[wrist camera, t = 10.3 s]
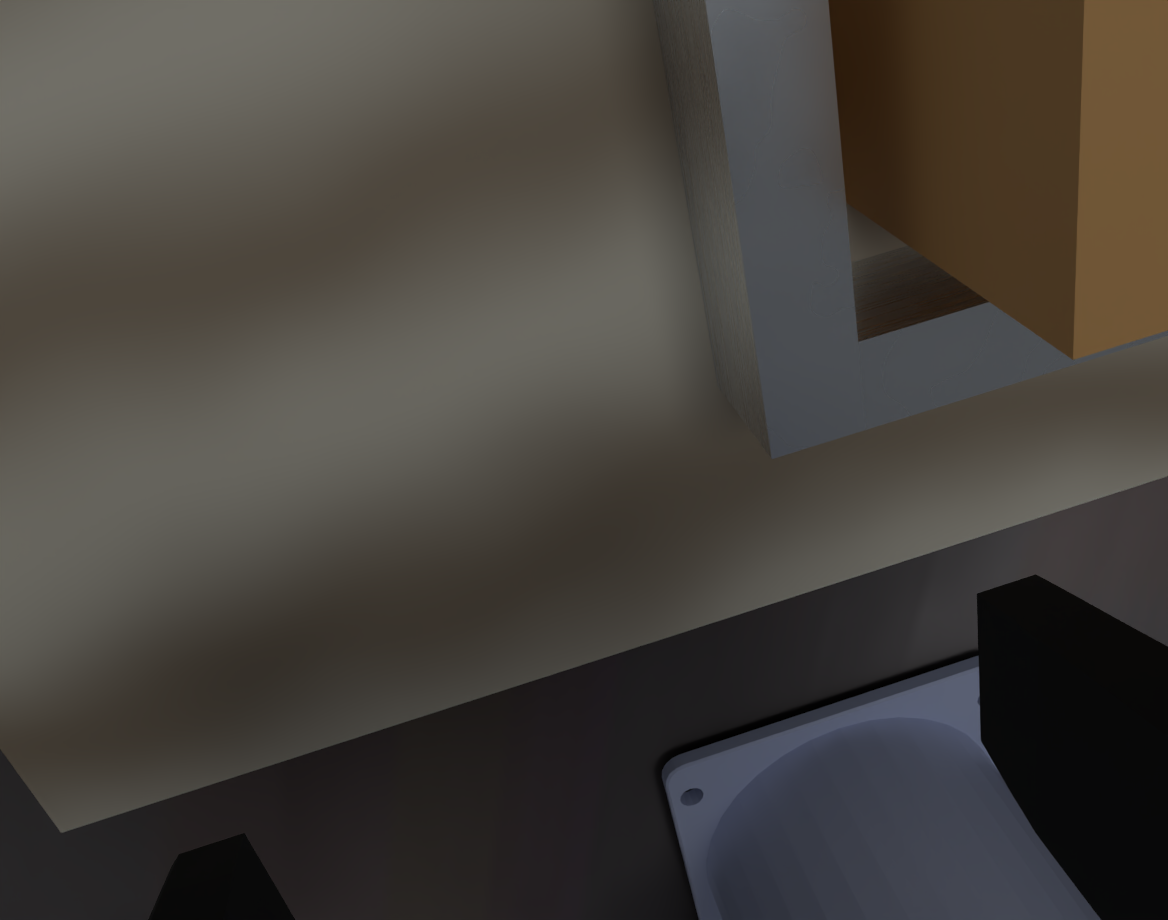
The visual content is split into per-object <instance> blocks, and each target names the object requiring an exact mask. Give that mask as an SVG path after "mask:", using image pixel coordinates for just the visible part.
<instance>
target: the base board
mask: <svg viewBox="0 0 1168 920" xmlns="http://www.w3.org/2000/svg"><path fill="white" fill-rule="evenodd" d="M828 3H829V1H828ZM829 15H830V13H829ZM830 26H831V24H830ZM831 37H832V35H831ZM832 49H833V47H832ZM833 60H834V58H833ZM834 72H835V70H834ZM835 83H836V81H835ZM836 94H837V92H836ZM837 106H838V104H837ZM838 117H839V115H838ZM839 129H840V127H839ZM840 140H841V138H840ZM841 152H842V149H841ZM842 163H843V161H842ZM843 174H844V172H843ZM844 186H845V184H844ZM845 197H846V195H845ZM846 209H847V220H848V231H849V243H850V254H851V262H855V261H858V260H861V259H865V258H868V257H871V256H875V255H878V254H881V253H885V252H888V251H891V250H895V249H898V248H901V247H905V246H908V245H907V244H905V243H904V242H902V241H901V240H899V239H898V238H896V237H895V236H894V235H892V234H891V233H889V232H888V231H886V230H885V229H883V228H882V227H881V226H879V225H878V224H876V223H875V222H873V221H872V220H871V219H869V218H868V217H866V216H865V215H863V214H862V213H860V212H859V211H858V210H856V209H855V208H853V207H852V206H850V205H849V204H847V203H846ZM1167 476H1168V336H1166V337H1162V338H1159V339H1156V340H1153V341H1150V342H1146V343H1143V344H1140V345H1137V346H1133V347H1130V348H1127V349H1124V350H1121V351H1117V352H1114V353H1111V354H1108V355H1105V356H1101V357H1098V358H1095V359H1092V360H1089V361H1085V362H1082V363H1079V364H1076V365H1073V366H1069V367H1066V368H1063V369H1060V370H1057V371H1053V372H1050V373H1047V374H1044V375H1040V376H1037V377H1034V378H1031V379H1028V380H1024V381H1021V382H1018V383H1015V384H1012V385H1008V386H1005V387H1002V388H999V389H996V390H992V391H989V392H986V393H983V394H980V395H976V396H973V397H970V398H967V399H963V400H960V401H957V402H954V403H951V404H947V405H944V406H941V407H938V408H935V409H931V410H928V411H925V412H922V413H919V414H915V415H912V416H909V417H906V418H903V419H899V420H896V421H893V422H890V423H887V424H883V425H880V426H877V427H874V428H870V429H867V430H864V431H861V432H858V433H854V434H851V435H848V436H845V437H842V438H838V439H835V440H832V441H829V442H826V443H822V444H819V445H816V446H813V447H810V448H806V449H803V450H800V451H797V452H793V453H790V454H787V455H784V456H781V457H777V458H774V459H771V458H770V456H769V455H768V454H767V452H766V451H765V450H764V448H763V447H762V445H761V444H760V443H759V441H758V440H757V439H756V437H755V436H754V435H753V433H752V432H751V431H750V429H749V428H748V427H747V425H746V424H745V423H744V421H743V420H742V418H741V417H740V416H739V414H738V413H737V412H736V410H735V409H734V408H733V406H732V405H731V404H730V402H729V401H728V400H727V398H726V397H725V396H724V394H723V393H722V391H721V390H720V389H719V387H718V385H717V379H716V373H715V367H714V361H713V355H712V349H711V344H710V338H709V332H708V326H707V320H706V314H705V308H704V302H703V296H702V290H701V285H700V279H699V273H698V267H697V261H696V255H695V249H694V243H693V237H692V231H691V226H690V220H689V214H688V208H687V202H686V196H685V190H684V184H683V178H682V173H681V167H680V161H679V155H678V149H677V143H676V137H675V131H674V125H673V119H672V114H671V108H670V102H669V96H668V90H667V84H666V78H665V72H664V66H663V60H662V55H661V49H660V43H659V37H658V31H657V25H656V19H655V13H654V7H653V1H652V0H0V749H1V751H2V752H3V753H4V755H5V756H6V758H7V759H8V760H9V762H10V763H11V764H12V766H13V767H14V769H15V770H16V771H17V773H18V774H19V775H20V777H21V778H22V780H23V781H24V782H25V784H26V785H27V786H28V788H29V789H30V791H31V792H32V793H33V795H34V796H35V797H36V799H37V800H38V802H39V803H40V804H41V806H42V807H43V808H44V810H45V811H46V813H47V814H48V815H49V817H50V818H51V819H52V821H53V822H54V824H55V825H56V826H57V828H58V829H59V831H60V832H61V833H62V832H66V831H69V830H72V829H75V828H78V827H81V826H84V825H87V824H90V823H93V822H97V821H100V820H103V819H106V818H109V817H112V816H115V815H118V814H121V813H124V812H128V811H131V810H134V809H137V808H140V807H143V806H146V805H149V804H152V803H155V802H159V801H162V800H165V799H168V798H171V797H174V796H177V795H180V794H183V793H186V792H190V791H193V790H196V789H199V788H202V787H205V786H208V785H211V784H214V783H217V782H221V781H224V780H227V779H230V778H233V777H236V776H239V775H242V774H245V773H249V772H252V771H255V770H258V769H261V768H264V767H267V766H270V765H273V764H276V763H280V762H283V761H286V760H289V759H292V758H295V757H298V756H301V755H304V754H307V753H311V752H314V751H317V750H320V749H323V748H326V747H329V746H332V745H335V744H338V743H342V742H345V741H348V740H351V739H354V738H357V737H360V736H363V735H366V734H369V733H373V732H376V731H379V730H382V729H385V728H388V727H391V726H394V725H397V724H400V723H404V722H407V721H410V720H413V719H416V718H419V717H422V716H425V715H428V714H431V713H435V712H438V711H441V710H444V709H447V708H450V707H453V706H456V705H459V704H463V703H466V702H469V701H472V700H475V699H478V698H481V697H484V696H487V695H490V694H494V693H497V692H500V691H503V690H506V689H509V688H512V687H515V686H518V685H521V684H525V683H528V682H531V681H534V680H537V679H540V678H543V677H546V676H549V675H552V674H556V673H559V672H562V671H565V670H568V669H571V668H574V667H577V666H580V665H583V664H587V663H590V662H593V661H596V660H599V659H602V658H605V657H608V656H611V655H614V654H618V653H621V652H624V651H627V650H630V649H633V648H636V647H639V646H642V645H645V644H649V643H652V642H655V641H658V640H661V639H664V638H667V637H670V636H673V635H677V634H680V633H683V632H686V631H689V630H692V629H695V628H698V627H701V626H704V625H708V624H711V623H714V622H717V621H720V620H723V619H726V618H729V617H732V616H735V615H739V614H742V613H745V612H748V611H751V610H754V609H757V608H760V607H763V606H766V605H770V604H773V603H776V602H779V601H782V600H785V599H788V598H791V597H794V596H797V595H801V594H804V593H807V592H810V591H813V590H816V589H819V588H822V587H825V586H828V585H832V584H835V583H838V582H841V581H844V580H847V579H850V578H853V577H856V576H859V575H863V574H866V573H869V572H872V571H875V570H878V569H881V568H884V567H887V566H891V565H894V564H897V563H900V562H903V561H906V560H909V559H912V558H915V557H918V556H922V555H925V554H928V553H931V552H934V551H937V550H940V549H943V548H946V547H949V546H953V545H956V544H959V543H962V542H965V541H968V540H971V539H974V538H977V537H980V536H984V535H987V534H990V533H993V532H996V531H999V530H1002V529H1005V528H1008V527H1011V526H1015V525H1018V524H1021V523H1024V522H1027V521H1030V520H1033V519H1036V518H1039V517H1042V516H1046V515H1049V514H1052V513H1055V512H1058V511H1061V510H1064V509H1067V508H1070V507H1074V506H1077V505H1080V504H1083V503H1086V502H1089V501H1092V500H1095V499H1098V498H1101V497H1105V496H1108V495H1111V494H1114V493H1117V492H1120V491H1123V490H1126V489H1129V488H1132V487H1136V486H1139V485H1142V484H1145V483H1148V482H1151V481H1154V480H1157V479H1160V478H1163V477H1167Z"/></svg>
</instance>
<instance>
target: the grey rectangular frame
mask: <svg viewBox="0 0 1168 920" xmlns="http://www.w3.org/2000/svg"><path fill="white" fill-rule="evenodd" d="M652 1H653V7H654V13H655V19H656V25H657V31H658V37H659V43H660V49H661V55H662V60H663V66H664V72H665V78H666V84H667V90H668V96H669V102H670V108H671V114H672V119H673V125H674V131H675V137H676V143H677V149H678V155H679V161H680V167H681V173H682V178H683V184H684V190H685V196H686V202H687V208H688V214H689V220H690V226H691V231H692V237H693V243H694V249H695V255H696V261H697V267H698V273H699V279H700V285H701V290H702V296H703V302H704V308H705V314H706V320H707V326H708V332H709V338H710V344H711V349H712V355H713V361H714V367H715V373H716V379H717V385H718V387H719V389H720V390H721V391H722V393H723V394H724V396H725V397H726V398H727V400H728V401H729V402H730V404H731V405H732V406H733V408H734V409H735V410H736V412H737V413H738V414H739V416H740V417H741V418H742V420H743V421H744V423H745V424H746V425H747V427H748V428H749V429H750V431H751V432H752V433H753V435H754V436H755V437H756V439H757V440H758V441H759V443H760V444H761V445H762V447H763V448H764V450H765V451H766V452H767V454H768V455H769V456H770V458H771V459H774V458H777V457H781V456H784V455H787V454H790V453H793V452H797V451H800V450H803V449H806V448H810V447H813V446H816V445H819V444H822V443H826V442H829V441H832V440H835V439H838V438H842V437H845V436H848V435H851V434H854V433H858V432H861V431H864V430H867V429H870V428H874V427H877V426H880V425H883V424H887V423H890V422H893V421H896V420H899V419H903V418H906V417H909V416H912V415H915V414H919V413H922V412H925V411H928V410H931V409H935V408H938V407H941V406H944V405H947V404H951V403H954V402H957V401H960V400H963V399H967V398H970V397H973V396H976V395H980V394H983V393H986V392H989V391H992V390H996V389H999V388H1002V387H1005V386H1008V385H1012V384H1015V383H1018V382H1021V381H1024V380H1028V379H1031V378H1034V377H1037V376H1040V375H1044V374H1047V373H1050V372H1053V371H1057V370H1060V369H1063V368H1066V367H1069V366H1073V365H1076V364H1079V363H1082V362H1085V361H1089V360H1092V359H1095V358H1098V357H1101V356H1105V355H1108V354H1111V353H1114V352H1117V351H1121V350H1124V349H1127V348H1130V347H1133V346H1137V345H1140V344H1143V343H1146V342H1150V341H1153V340H1156V339H1159V338H1162V337H1166V336H1168V331H1164V332H1161V333H1158V334H1155V335H1152V336H1148V337H1145V338H1142V339H1139V340H1136V341H1132V342H1129V343H1126V344H1123V345H1120V346H1116V347H1113V348H1110V349H1107V350H1103V351H1100V352H1097V353H1094V354H1091V355H1087V356H1084V357H1081V358H1078V359H1075V360H1072V359H1071V358H1069V357H1068V356H1067V355H1065V354H1064V353H1062V352H1061V351H1059V350H1058V349H1056V348H1055V347H1054V346H1052V345H1051V344H1049V343H1048V342H1046V341H1045V340H1043V339H1042V338H1041V337H1039V336H1038V335H1036V334H1035V333H1033V332H1032V331H1030V330H1029V329H1028V328H1026V327H1025V326H1023V325H1022V324H1020V323H1019V322H1018V321H1016V320H1015V319H1013V318H1012V317H1010V316H1009V315H1007V314H1006V313H1005V312H1003V311H1002V310H1000V309H999V308H997V307H996V306H994V305H993V304H992V303H990V302H989V301H987V300H986V299H984V298H983V297H981V296H980V295H979V294H977V293H976V292H974V291H973V290H971V289H970V288H969V287H967V286H966V285H964V284H963V283H961V282H960V281H958V280H957V279H956V278H954V277H953V276H951V275H950V274H948V273H947V272H945V271H944V270H943V269H941V268H940V267H938V266H937V265H935V264H934V263H932V262H931V261H930V260H928V259H927V258H925V257H924V256H922V255H921V254H920V253H918V252H917V251H915V250H914V249H912V248H911V247H909V246H905V247H901V248H898V249H895V250H891V251H888V252H885V253H881V254H878V255H875V256H871V257H868V258H865V259H861V260H858V261H855V262H851V254H850V243H849V231H848V220H847V209H846V197H845V186H844V174H843V163H842V152H841V140H840V129H839V117H838V106H837V94H836V83H835V72H834V60H833V49H832V37H831V26H830V15H829V3H828V0H652Z"/></svg>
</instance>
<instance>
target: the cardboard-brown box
mask: <svg viewBox="0 0 1168 920" xmlns="http://www.w3.org/2000/svg"><path fill="white" fill-rule="evenodd" d="M828 1H829V13H830V24H831V35H832V47H833V58H834V70H835V81H836V92H837V104H838V115H839V127H840V138H841V149H842V161H843V172H844V184H845V195H846V203H847V204H849V205H850V206H852V207H853V208H855V209H856V210H858V211H859V212H860V213H862V214H863V215H865V216H866V217H868V218H869V219H871V220H872V221H873V222H875V223H876V224H878V225H879V226H881V227H882V228H883V229H885V230H886V231H888V232H889V233H891V234H892V235H894V236H895V237H896V238H898V239H899V240H901V241H902V242H904V243H905V244H907V245H908V246H909V247H911V248H912V249H914V250H915V251H917V252H918V253H920V254H921V255H922V256H924V257H925V258H927V259H928V260H930V261H931V262H932V263H934V264H935V265H937V266H938V267H940V268H941V269H943V270H944V271H945V272H947V273H948V274H950V275H951V276H953V277H954V278H956V279H957V280H958V281H960V282H961V283H963V284H964V285H966V286H967V287H969V288H970V289H971V290H973V291H974V292H976V293H977V294H979V295H980V296H981V297H983V298H984V299H986V300H987V301H989V302H990V303H992V304H993V305H994V306H996V307H997V308H999V309H1000V310H1002V311H1003V312H1005V313H1006V314H1007V315H1009V316H1010V317H1012V318H1013V319H1015V320H1016V321H1018V322H1019V323H1020V324H1022V325H1023V326H1025V327H1026V328H1028V329H1029V330H1030V331H1032V332H1033V333H1035V334H1036V335H1038V336H1039V337H1041V338H1042V339H1043V340H1045V341H1046V342H1048V343H1049V344H1051V345H1052V346H1054V347H1055V348H1056V349H1058V350H1059V351H1061V352H1062V353H1064V354H1065V355H1067V356H1068V357H1069V358H1071V359H1072V360H1075V359H1078V358H1081V357H1084V356H1087V355H1091V354H1094V353H1097V352H1100V351H1103V350H1107V349H1110V348H1113V347H1116V346H1120V345H1123V344H1126V343H1129V342H1132V341H1136V340H1139V339H1142V338H1145V337H1148V336H1152V335H1155V334H1158V333H1161V332H1164V331H1168V0H828Z"/></svg>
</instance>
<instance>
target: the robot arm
mask: <svg viewBox="0 0 1168 920" xmlns="http://www.w3.org/2000/svg"><path fill="white" fill-rule="evenodd" d="M977 614H978V653H979V655H978V656H975V657H972V658H969V659H966V660H963V661H960V662H957V663H954V664H951V665H948V666H945V667H942V668H939V669H936V670H933V671H930V672H927V673H924V674H921V675H918V676H915V677H912V678H909V679H906V680H903V681H900V682H897V683H894V684H891V685H888V686H885V687H881V688H878V689H875V690H872V691H869V692H866V693H863V694H860V695H857V696H854V697H851V698H848V699H845V700H842V701H839V702H836V703H833V704H830V705H827V706H824V707H821V708H818V709H815V710H812V711H809V712H806V713H803V714H800V715H797V716H794V717H791V718H788V719H785V720H782V721H779V722H776V723H773V724H770V725H767V726H764V727H761V728H758V729H755V730H752V731H749V732H746V733H743V734H740V735H737V736H734V737H731V738H728V739H725V740H721V741H718V742H715V743H712V744H709V745H706V746H703V747H700V748H697V749H694V750H691V751H688V752H685V753H682V754H679V755H677V756H675V757H673V758H672V759H671V760H669V761H668V762H667V763H666V764H665V766H664V768H663V770H662V780H663V784H664V788H665V791H666V795H667V799H668V803H669V807H670V811H671V815H672V818H673V822H674V826H675V830H676V834H677V838H678V842H679V846H680V849H681V853H682V857H683V861H684V865H685V869H686V873H687V876H688V880H689V884H690V888H691V892H692V896H693V900H694V904H695V907H696V911H697V915H698V919H699V920H1168V647H1167V646H1165V645H1164V644H1162V643H1160V642H1158V641H1156V640H1154V639H1153V638H1151V637H1149V636H1147V635H1145V634H1143V633H1142V632H1140V631H1138V630H1136V629H1134V628H1132V627H1131V626H1129V625H1127V624H1125V623H1123V622H1121V621H1120V620H1118V619H1116V618H1114V617H1112V616H1111V615H1109V614H1107V613H1105V612H1103V611H1102V610H1100V609H1098V608H1096V607H1094V606H1093V605H1091V604H1089V603H1087V602H1085V601H1084V600H1082V599H1080V598H1078V597H1076V596H1075V595H1073V594H1071V593H1069V592H1067V591H1065V590H1064V589H1062V588H1060V587H1058V586H1056V585H1054V584H1052V583H1051V582H1049V581H1047V580H1045V579H1043V578H1041V577H1039V576H1037V575H1033V576H1030V577H1027V578H1024V579H1021V580H1018V581H1015V582H1011V583H1008V584H1005V585H1002V586H999V587H996V588H993V589H990V590H987V591H984V592H981V593H978V594H977ZM693 788H694V789H693ZM689 789H692V790H690V791H688V792H685V791H687V790H689ZM148 920H295V919H294V917H293V915H292V914H291V912H290V910H289V909H288V907H287V905H286V903H285V902H284V900H283V898H282V897H281V895H280V893H279V892H278V890H277V888H276V886H275V885H274V883H273V881H272V880H271V878H270V876H269V875H268V873H267V871H266V869H265V868H264V866H263V864H262V863H261V861H260V859H259V857H258V856H257V854H256V852H255V851H254V849H253V847H252V846H251V844H250V842H249V840H248V839H247V837H246V835H245V834H244V833H243V834H240V835H237V836H234V837H231V838H228V839H225V840H222V841H219V842H216V843H213V844H209V845H206V846H203V847H200V848H197V849H194V850H191V851H188V852H185V853H182V854H179V855H178V857H177V859H176V860H175V862H174V864H173V865H172V867H171V869H170V872H169V874H168V876H167V878H166V881H165V883H164V885H163V887H162V890H161V892H160V894H159V897H158V899H157V901H156V903H155V906H154V908H153V910H152V913H151V915H150V917H149V919H148Z"/></svg>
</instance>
